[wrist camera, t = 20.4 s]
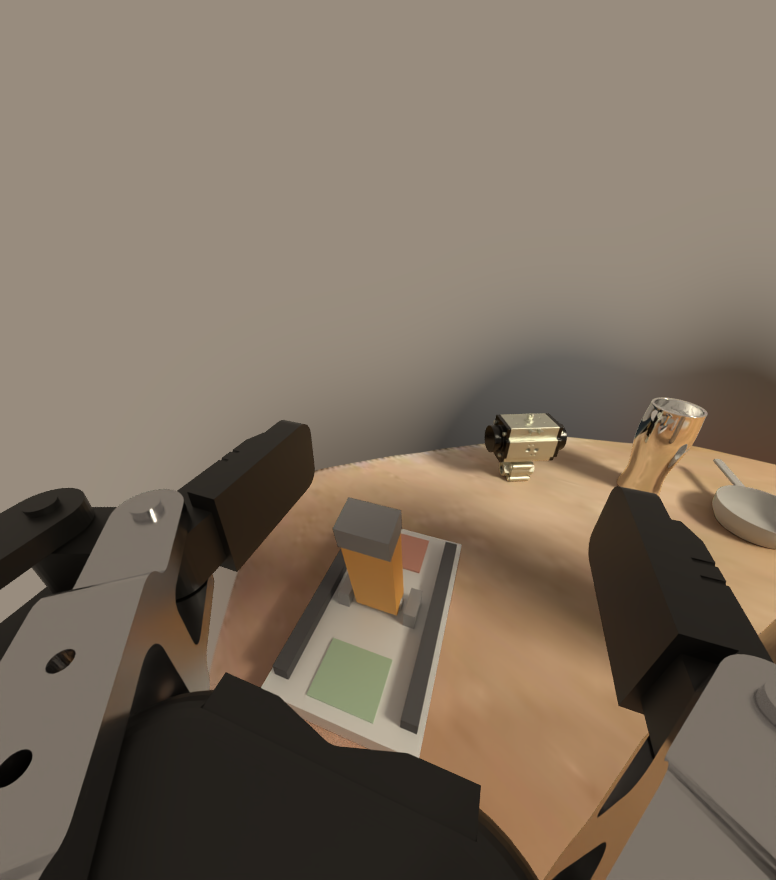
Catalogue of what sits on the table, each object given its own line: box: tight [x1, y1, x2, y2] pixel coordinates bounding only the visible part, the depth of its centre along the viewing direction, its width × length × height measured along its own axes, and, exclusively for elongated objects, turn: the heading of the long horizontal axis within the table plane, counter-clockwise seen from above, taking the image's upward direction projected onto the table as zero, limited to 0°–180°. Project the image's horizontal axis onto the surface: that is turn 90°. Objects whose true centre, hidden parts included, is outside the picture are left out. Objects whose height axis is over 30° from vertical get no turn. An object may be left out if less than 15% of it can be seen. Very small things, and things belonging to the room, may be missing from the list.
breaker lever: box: [333, 497, 404, 616], centre depth 31 cm, size 3×5×15 cm, turn 71°
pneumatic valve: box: [485, 413, 567, 481], centre depth 56 cm, size 6×12×12 cm, turn 95°
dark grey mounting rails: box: [273, 542, 457, 734], centre depth 36 cm, size 19×13×1 cm
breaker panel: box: [261, 529, 462, 758], centre depth 36 cm, size 22×14×4 cm, turn 161°
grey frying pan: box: [712, 459, 776, 549], centre depth 52 cm, size 11×18×4 cm, turn 166°
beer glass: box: [617, 398, 707, 496], centre depth 53 cm, size 7×7×15 cm
